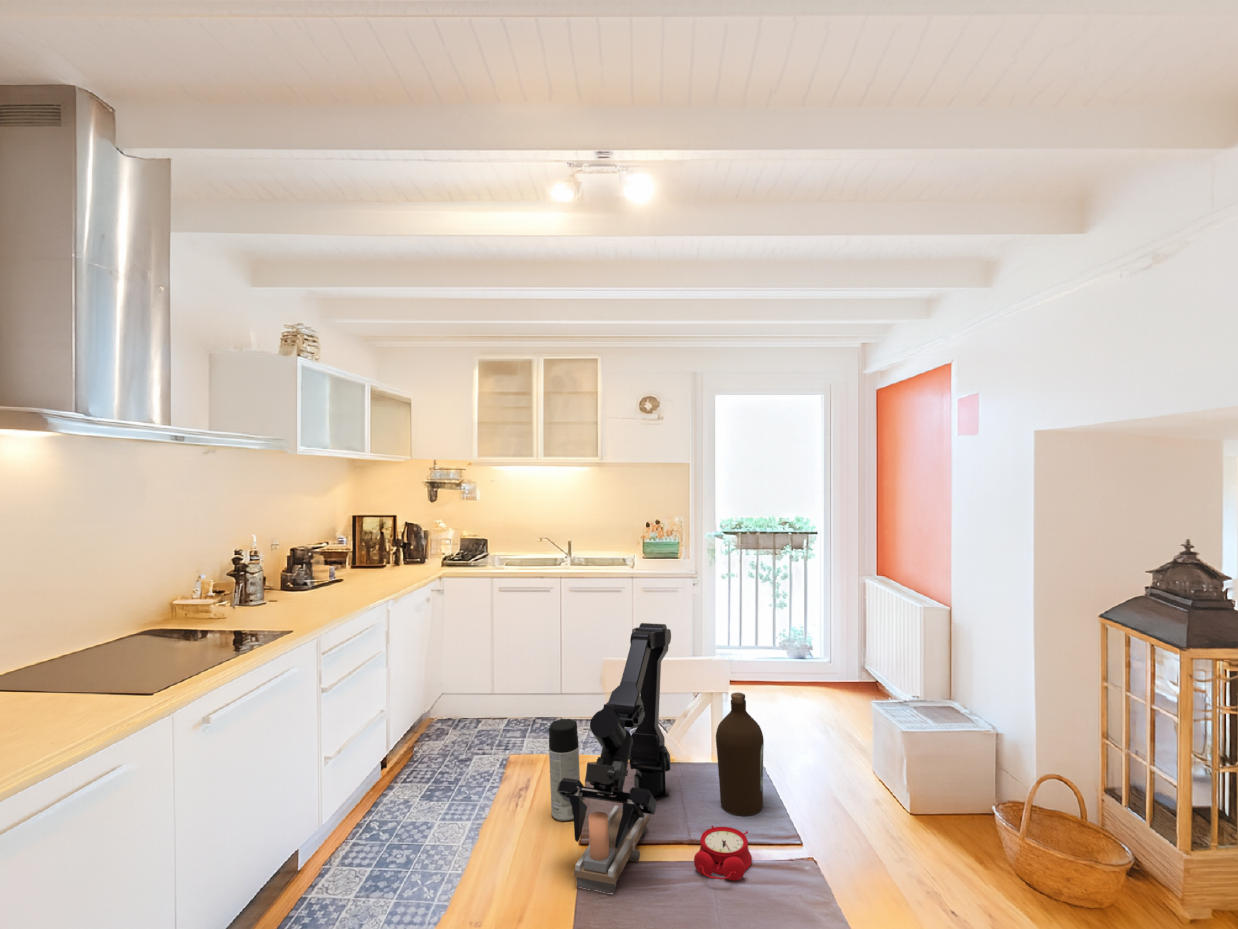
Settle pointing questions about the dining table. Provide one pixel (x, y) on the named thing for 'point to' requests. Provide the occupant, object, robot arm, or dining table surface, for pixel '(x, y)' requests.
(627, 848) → the brown piece
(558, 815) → the spray can
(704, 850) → the alarm clock
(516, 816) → the dining table surface
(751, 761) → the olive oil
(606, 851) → the rider
